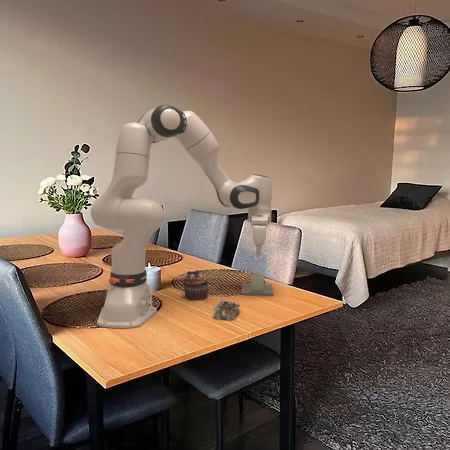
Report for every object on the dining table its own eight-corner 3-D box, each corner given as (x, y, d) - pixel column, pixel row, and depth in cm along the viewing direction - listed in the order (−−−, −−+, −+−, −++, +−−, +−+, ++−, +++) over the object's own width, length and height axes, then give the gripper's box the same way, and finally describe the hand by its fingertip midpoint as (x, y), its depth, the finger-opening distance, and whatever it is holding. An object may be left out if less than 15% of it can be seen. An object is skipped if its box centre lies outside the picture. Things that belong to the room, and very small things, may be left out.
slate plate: (273, 296, 175) (273, 293, 175) (241, 295, 175) (241, 292, 175) (271, 286, 187) (271, 284, 186) (242, 285, 187) (242, 283, 187)
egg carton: (232, 322, 149) (233, 310, 148) (211, 319, 151) (211, 307, 150) (241, 311, 159) (242, 300, 158) (221, 308, 161) (221, 297, 160)
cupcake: (191, 303, 166) (191, 276, 164) (179, 295, 174) (179, 270, 172) (213, 298, 171) (214, 272, 169) (201, 291, 179) (201, 267, 177)
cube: (263, 290, 178) (264, 278, 177) (250, 290, 179) (251, 277, 178) (263, 286, 183) (263, 274, 182) (250, 286, 183) (251, 274, 183)
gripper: (251, 213, 186) (250, 247, 188) (251, 220, 166) (249, 257, 168) (267, 214, 186) (266, 247, 188) (268, 220, 166) (267, 258, 168)
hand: (258, 252), depth 178 cm, fingers open, 8 cm apart
